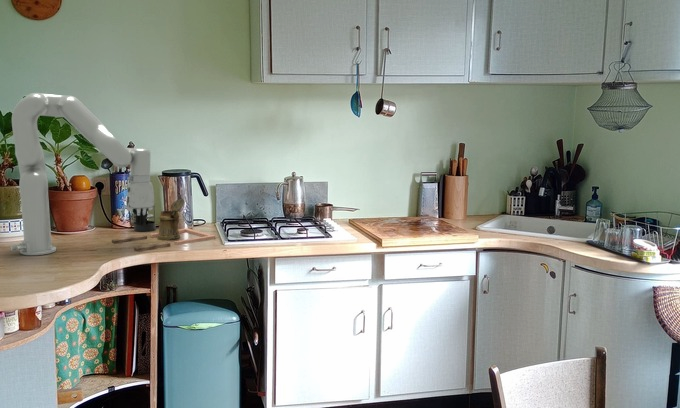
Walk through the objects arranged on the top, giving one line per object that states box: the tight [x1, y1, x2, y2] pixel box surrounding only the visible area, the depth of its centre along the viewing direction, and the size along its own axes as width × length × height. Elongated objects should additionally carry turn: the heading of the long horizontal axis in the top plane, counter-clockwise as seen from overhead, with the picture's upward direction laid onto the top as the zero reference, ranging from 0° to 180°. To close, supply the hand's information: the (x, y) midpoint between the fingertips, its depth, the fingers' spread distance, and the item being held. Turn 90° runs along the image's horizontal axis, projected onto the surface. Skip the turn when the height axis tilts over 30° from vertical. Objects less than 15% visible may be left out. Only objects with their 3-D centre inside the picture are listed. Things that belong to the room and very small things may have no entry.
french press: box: [128, 205, 157, 233], centre depth 302 cm, size 12×9×23 cm
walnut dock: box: [111, 234, 171, 253], centre depth 275 cm, size 14×22×1 cm, turn 44°
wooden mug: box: [157, 197, 185, 241], centre depth 284 cm, size 9×14×18 cm, turn 50°
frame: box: [149, 227, 216, 246], centre depth 288 cm, size 18×22×1 cm
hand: (139, 224), depth 274 cm, fingers closed
